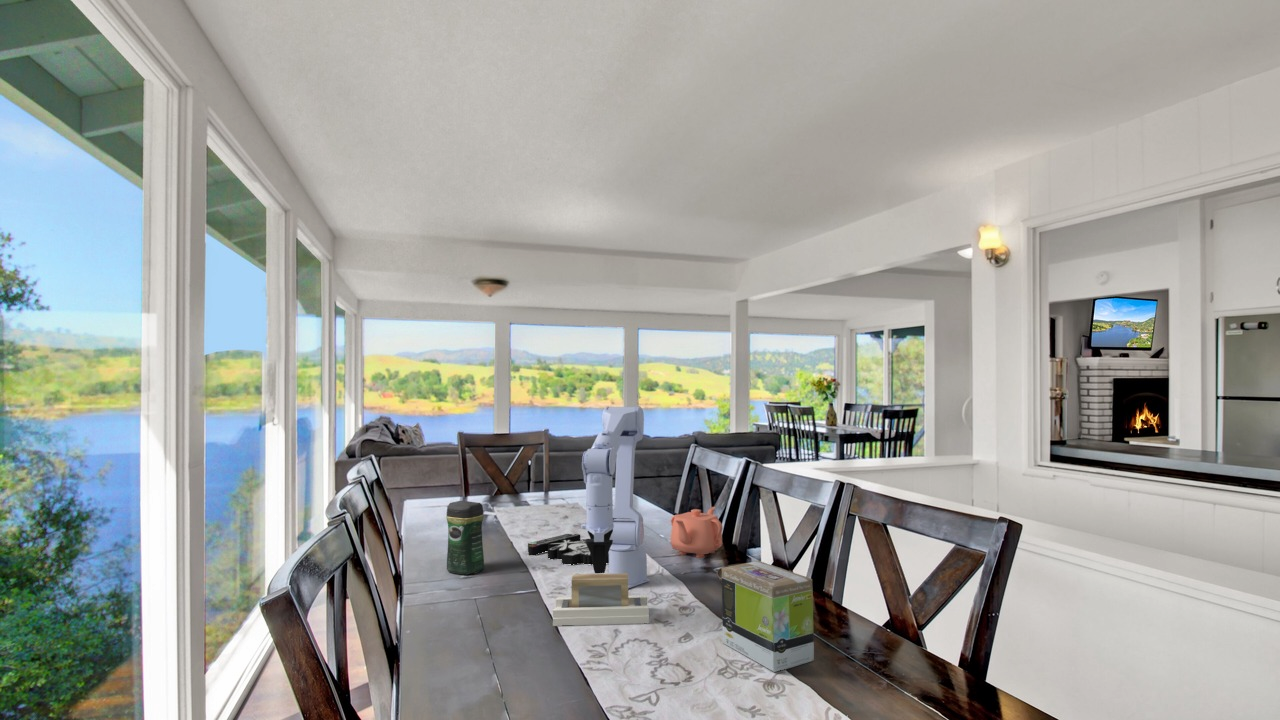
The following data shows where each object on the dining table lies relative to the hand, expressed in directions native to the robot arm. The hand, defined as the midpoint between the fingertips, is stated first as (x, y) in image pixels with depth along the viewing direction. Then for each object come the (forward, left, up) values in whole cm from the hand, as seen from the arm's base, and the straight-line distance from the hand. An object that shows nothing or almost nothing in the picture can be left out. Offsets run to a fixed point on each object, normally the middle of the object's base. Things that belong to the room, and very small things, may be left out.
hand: (600, 567), depth 138 cm
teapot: (-52, -15, -11) cm, 55 cm away
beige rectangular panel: (0, 0, -9) cm, 9 cm away
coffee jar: (+1, -51, -11) cm, 53 cm away
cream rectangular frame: (0, +1, -10) cm, 10 cm away
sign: (-29, -39, -11) cm, 50 cm away
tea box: (-8, +37, -11) cm, 39 cm away
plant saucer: (-39, +14, -11) cm, 42 cm away
